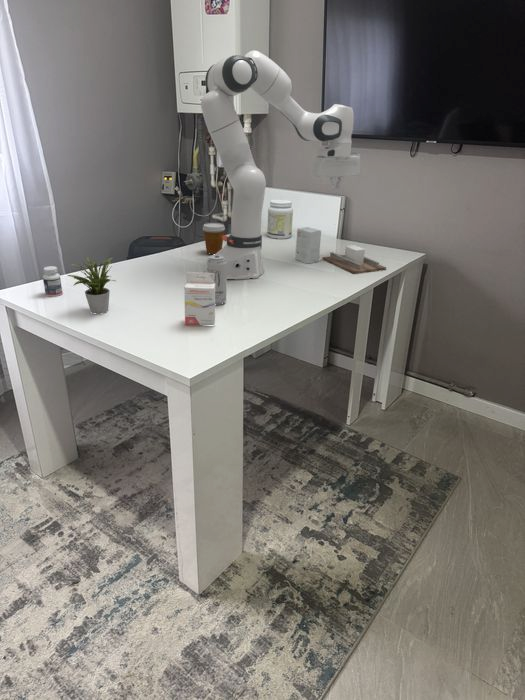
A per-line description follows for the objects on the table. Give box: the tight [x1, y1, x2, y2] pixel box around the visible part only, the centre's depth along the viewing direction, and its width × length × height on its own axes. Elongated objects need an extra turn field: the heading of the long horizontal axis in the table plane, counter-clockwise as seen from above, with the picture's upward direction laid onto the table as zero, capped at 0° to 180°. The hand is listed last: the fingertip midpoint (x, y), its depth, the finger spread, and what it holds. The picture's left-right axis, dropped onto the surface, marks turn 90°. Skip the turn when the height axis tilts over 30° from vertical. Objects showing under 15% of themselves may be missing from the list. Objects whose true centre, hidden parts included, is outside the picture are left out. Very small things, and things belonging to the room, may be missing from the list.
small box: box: [295, 226, 322, 265], centre depth 208 cm, size 8×6×13 cm
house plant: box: [67, 257, 116, 315], centre depth 150 cm, size 14×14×16 cm
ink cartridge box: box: [184, 271, 216, 326], centre depth 143 cm, size 9×5×15 cm, turn 92°
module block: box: [344, 244, 366, 264], centre depth 206 cm, size 4×7×6 cm, turn 27°
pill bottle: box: [42, 265, 64, 298], centre depth 162 cm, size 5×5×9 cm
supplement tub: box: [266, 199, 294, 240], centre depth 244 cm, size 12×12×17 cm
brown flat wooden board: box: [322, 251, 387, 275], centre depth 207 cm, size 16×22×3 cm
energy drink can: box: [206, 255, 227, 305], centre depth 159 cm, size 6×6×15 cm
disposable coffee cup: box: [202, 222, 226, 254], centre depth 213 cm, size 10×10×12 cm
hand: (335, 188), depth 199 cm, fingers closed
